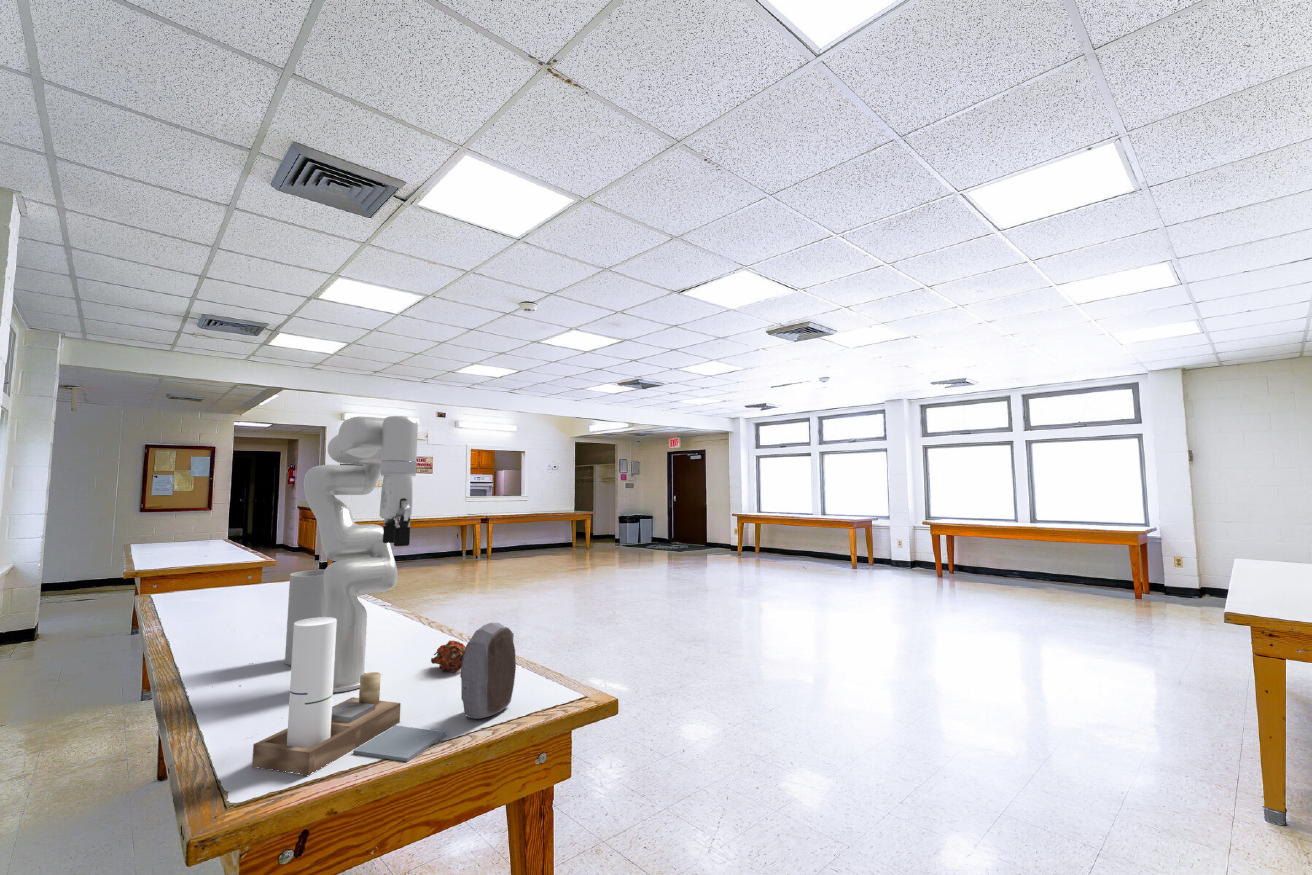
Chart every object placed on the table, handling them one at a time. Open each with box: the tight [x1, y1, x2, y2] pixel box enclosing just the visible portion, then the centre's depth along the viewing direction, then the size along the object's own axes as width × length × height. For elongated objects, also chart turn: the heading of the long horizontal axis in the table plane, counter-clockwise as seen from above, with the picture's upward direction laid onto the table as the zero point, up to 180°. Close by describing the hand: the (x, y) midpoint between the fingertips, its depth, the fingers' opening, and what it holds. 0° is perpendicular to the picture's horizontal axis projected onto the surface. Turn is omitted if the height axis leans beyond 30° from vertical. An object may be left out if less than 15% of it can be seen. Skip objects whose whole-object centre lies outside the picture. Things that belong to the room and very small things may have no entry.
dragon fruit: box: [430, 640, 466, 673], centre depth 162 cm, size 8×8×12 cm
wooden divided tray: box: [251, 671, 402, 776], centre depth 116 cm, size 12×24×10 cm, turn 166°
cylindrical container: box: [287, 617, 337, 749], centre depth 111 cm, size 7×7×25 cm
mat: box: [352, 724, 447, 762], centre depth 116 cm, size 12×12×1 cm
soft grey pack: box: [459, 622, 517, 719], centre depth 133 cm, size 15×8×20 cm, turn 160°
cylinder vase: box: [284, 569, 326, 667], centre depth 169 cm, size 12×12×25 cm
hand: (395, 544), depth 133 cm, fingers open, 9 cm apart
